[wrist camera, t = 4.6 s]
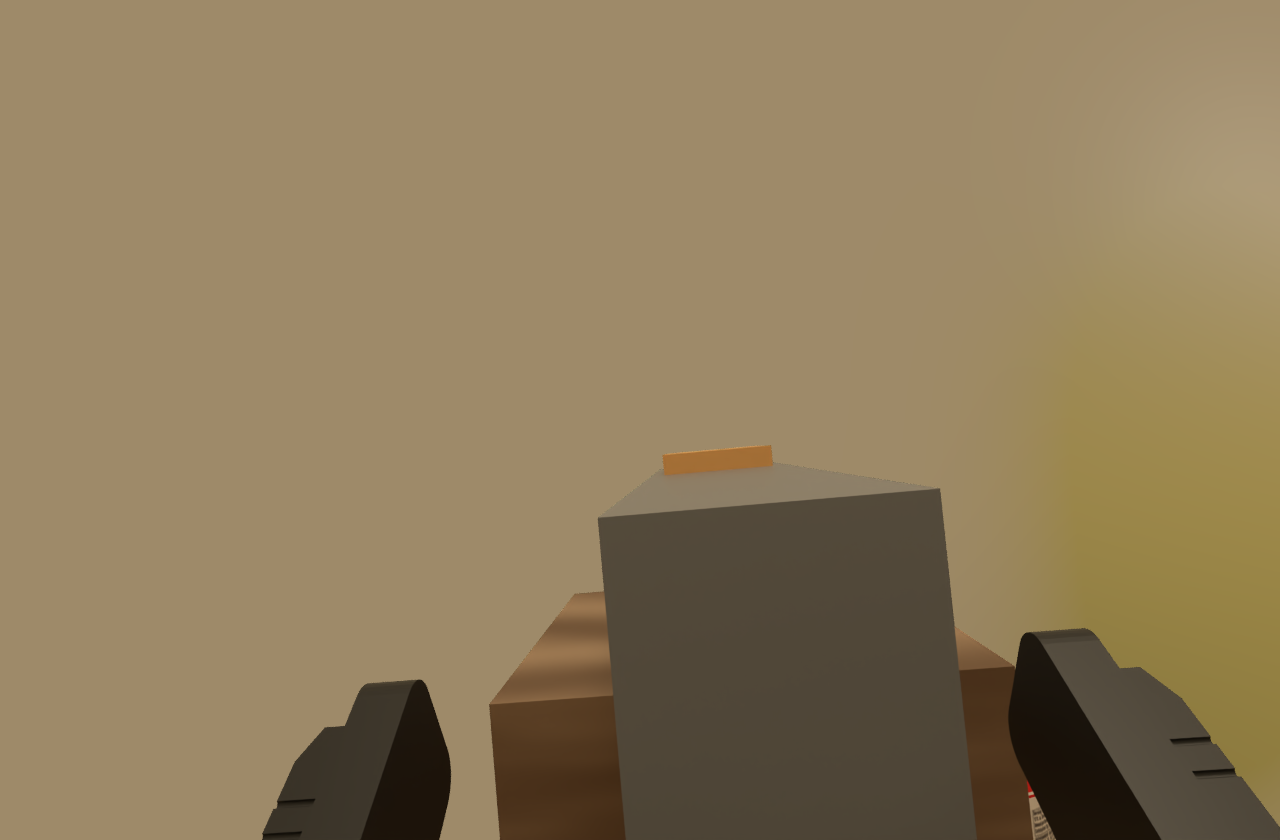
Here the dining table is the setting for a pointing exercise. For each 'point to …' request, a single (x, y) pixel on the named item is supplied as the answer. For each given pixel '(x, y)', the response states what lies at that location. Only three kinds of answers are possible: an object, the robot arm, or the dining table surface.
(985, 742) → the stand
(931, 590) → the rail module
